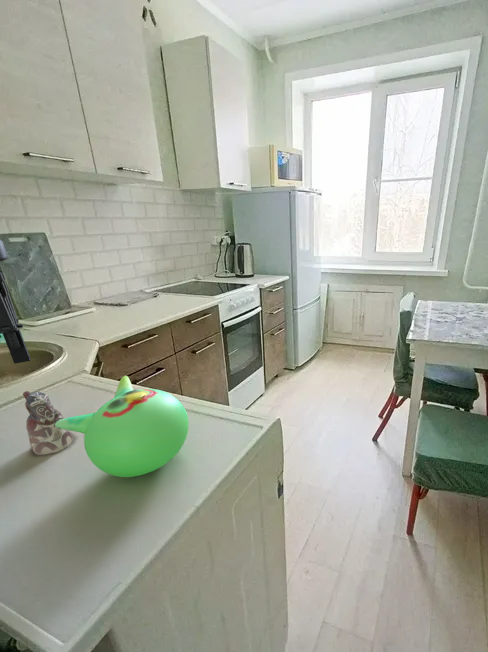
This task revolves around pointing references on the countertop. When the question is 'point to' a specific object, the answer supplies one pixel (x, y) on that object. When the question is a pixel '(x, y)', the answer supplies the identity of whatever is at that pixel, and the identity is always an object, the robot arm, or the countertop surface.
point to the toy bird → (132, 430)
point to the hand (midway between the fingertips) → (22, 361)
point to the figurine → (44, 425)
